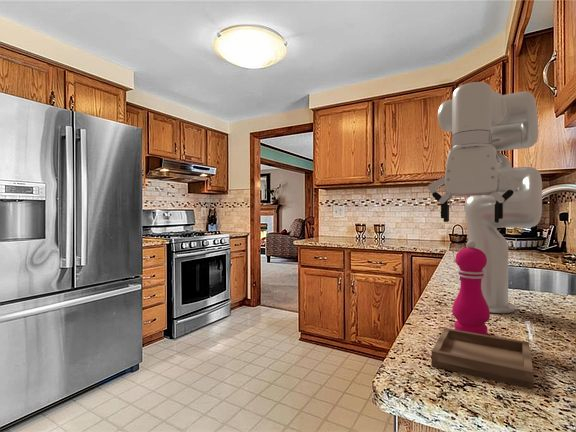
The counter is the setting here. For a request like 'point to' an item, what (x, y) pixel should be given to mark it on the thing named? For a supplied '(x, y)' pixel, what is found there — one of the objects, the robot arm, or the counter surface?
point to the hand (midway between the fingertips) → (470, 222)
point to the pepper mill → (471, 291)
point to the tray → (484, 357)
